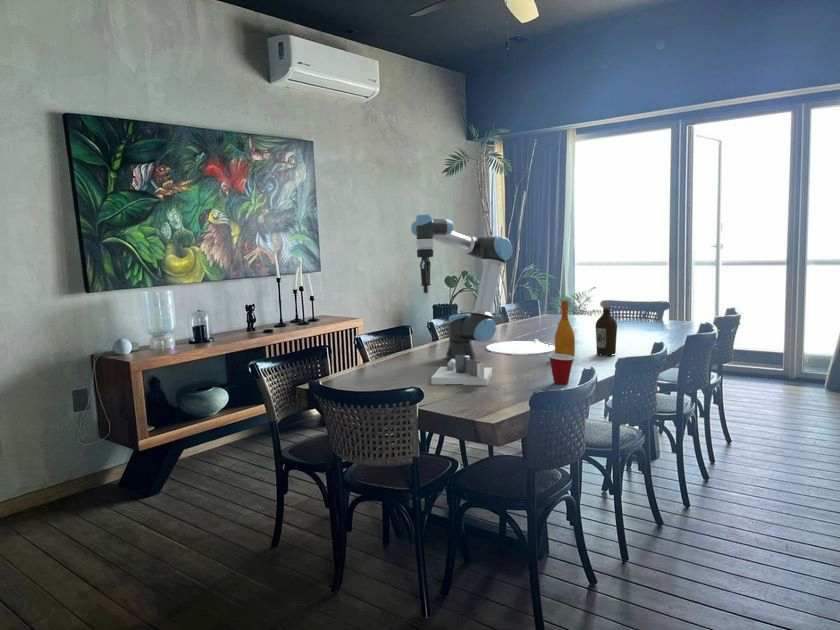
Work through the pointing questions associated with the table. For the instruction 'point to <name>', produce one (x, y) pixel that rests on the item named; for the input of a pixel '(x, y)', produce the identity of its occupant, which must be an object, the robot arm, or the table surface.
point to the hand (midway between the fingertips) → (426, 299)
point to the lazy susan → (520, 347)
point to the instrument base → (458, 376)
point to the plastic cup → (561, 367)
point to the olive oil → (606, 333)
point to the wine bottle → (564, 334)
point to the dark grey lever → (469, 366)
